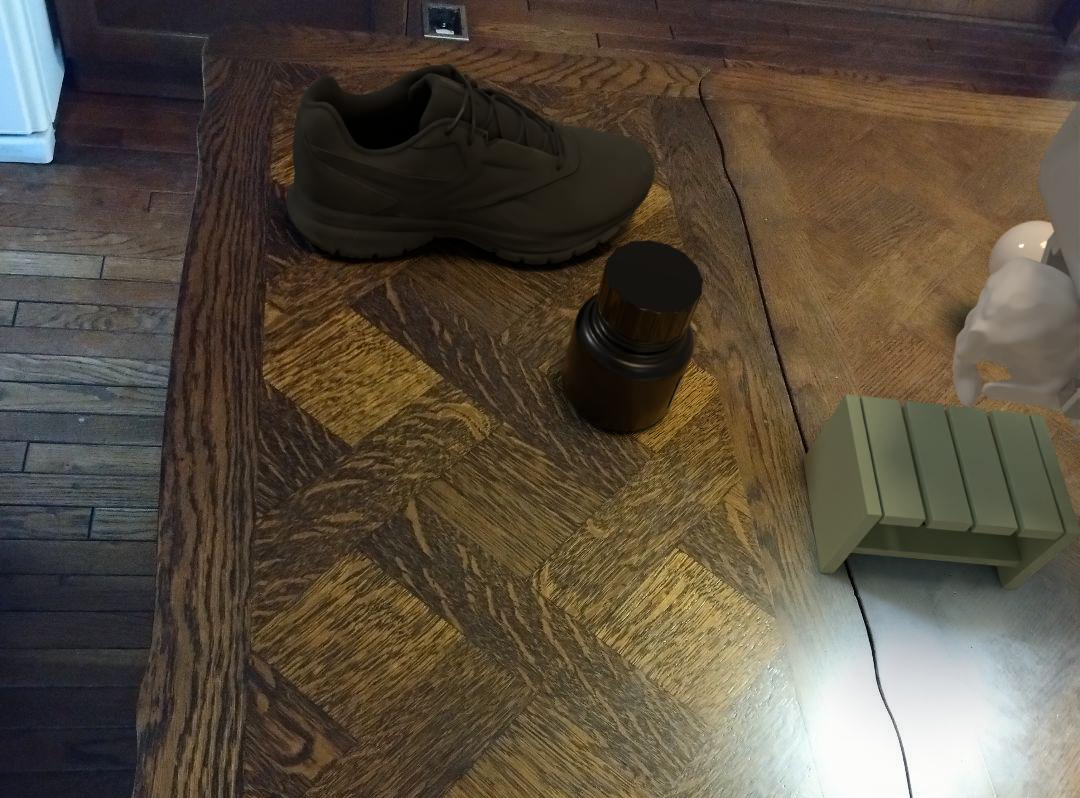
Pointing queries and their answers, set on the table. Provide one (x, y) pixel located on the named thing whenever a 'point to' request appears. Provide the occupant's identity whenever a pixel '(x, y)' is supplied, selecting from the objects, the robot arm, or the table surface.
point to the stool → (938, 486)
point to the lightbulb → (1020, 244)
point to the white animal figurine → (1021, 337)
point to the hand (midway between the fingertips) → (1053, 355)
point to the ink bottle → (633, 337)
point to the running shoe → (455, 172)
